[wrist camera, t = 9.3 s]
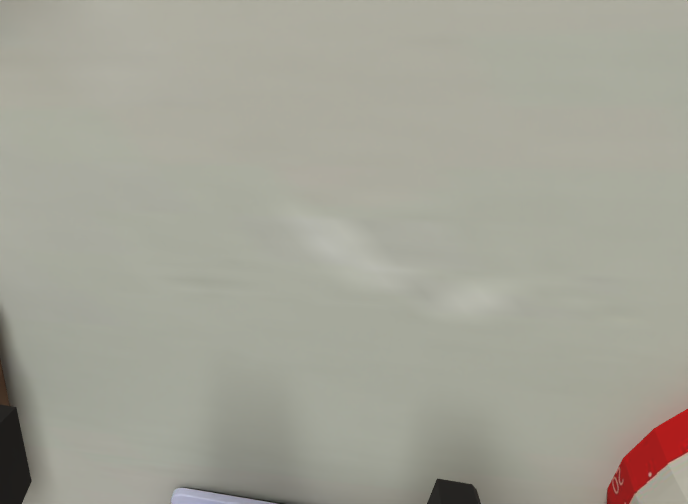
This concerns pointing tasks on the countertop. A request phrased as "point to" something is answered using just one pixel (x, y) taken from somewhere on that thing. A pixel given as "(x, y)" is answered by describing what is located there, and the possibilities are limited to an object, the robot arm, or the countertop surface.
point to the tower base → (3, 389)
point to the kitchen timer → (655, 467)
